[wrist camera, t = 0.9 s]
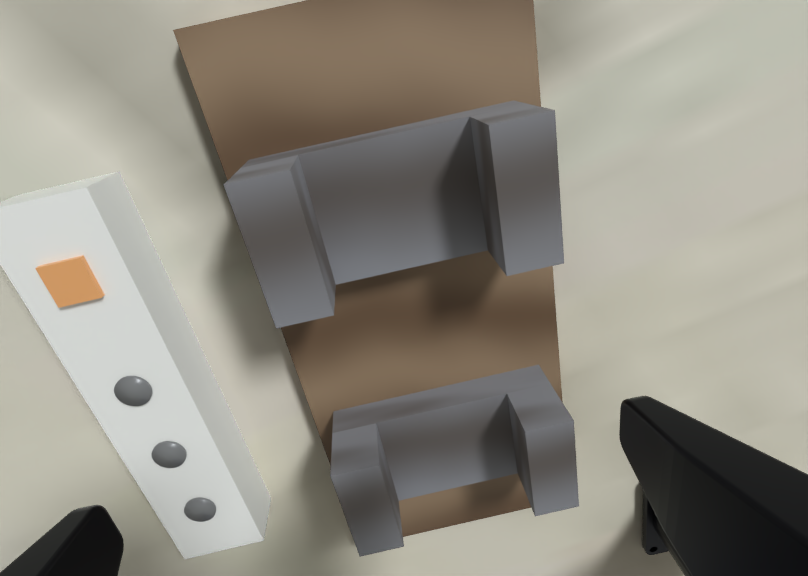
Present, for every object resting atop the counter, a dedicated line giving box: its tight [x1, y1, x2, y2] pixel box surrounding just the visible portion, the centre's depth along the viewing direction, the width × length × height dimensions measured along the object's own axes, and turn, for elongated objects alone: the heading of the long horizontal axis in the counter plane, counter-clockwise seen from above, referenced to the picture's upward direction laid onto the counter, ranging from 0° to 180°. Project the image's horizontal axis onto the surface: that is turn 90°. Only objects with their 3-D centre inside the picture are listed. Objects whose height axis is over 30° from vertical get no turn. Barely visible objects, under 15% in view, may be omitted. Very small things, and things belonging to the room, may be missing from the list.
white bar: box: [0, 171, 271, 559], centre depth 21 cm, size 18×4×3 cm, turn 12°
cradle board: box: [173, 0, 579, 556], centre depth 20 cm, size 26×12×5 cm, turn 11°
